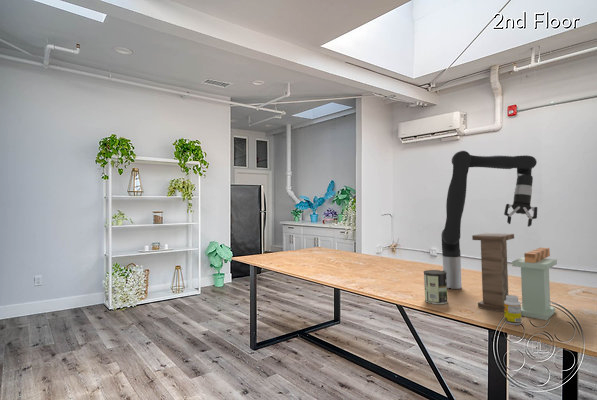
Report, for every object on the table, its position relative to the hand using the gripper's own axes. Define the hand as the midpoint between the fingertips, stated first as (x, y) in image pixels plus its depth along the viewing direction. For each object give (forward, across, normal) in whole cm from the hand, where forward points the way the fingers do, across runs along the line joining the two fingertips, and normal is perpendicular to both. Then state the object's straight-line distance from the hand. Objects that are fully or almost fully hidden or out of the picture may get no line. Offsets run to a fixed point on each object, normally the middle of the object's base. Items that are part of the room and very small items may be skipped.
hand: (518, 225), depth 180 cm
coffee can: (+43, -33, -29) cm, 62 cm away
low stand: (+38, +6, -35) cm, 52 cm away
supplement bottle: (+41, -4, -51) cm, 66 cm away
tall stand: (+39, -8, -29) cm, 49 cm away
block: (+15, +4, -32) cm, 36 cm away
